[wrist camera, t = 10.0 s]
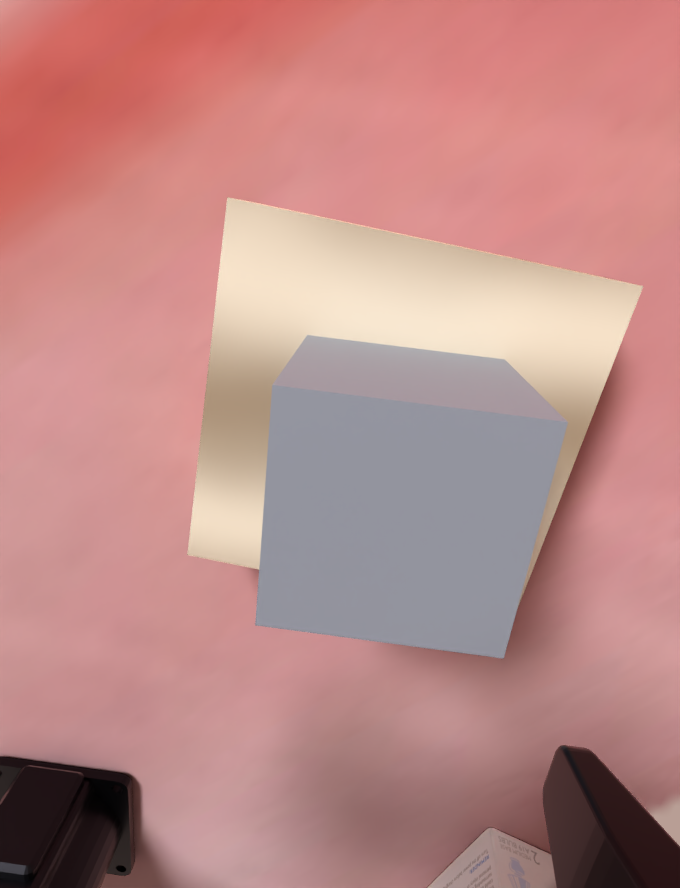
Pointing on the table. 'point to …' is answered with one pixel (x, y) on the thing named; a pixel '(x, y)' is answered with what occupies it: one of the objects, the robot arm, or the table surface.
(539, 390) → the flat wooden block
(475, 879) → the light bulb box
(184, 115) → the table surface
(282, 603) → the slate cube
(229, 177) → the table surface
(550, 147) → the table surface
